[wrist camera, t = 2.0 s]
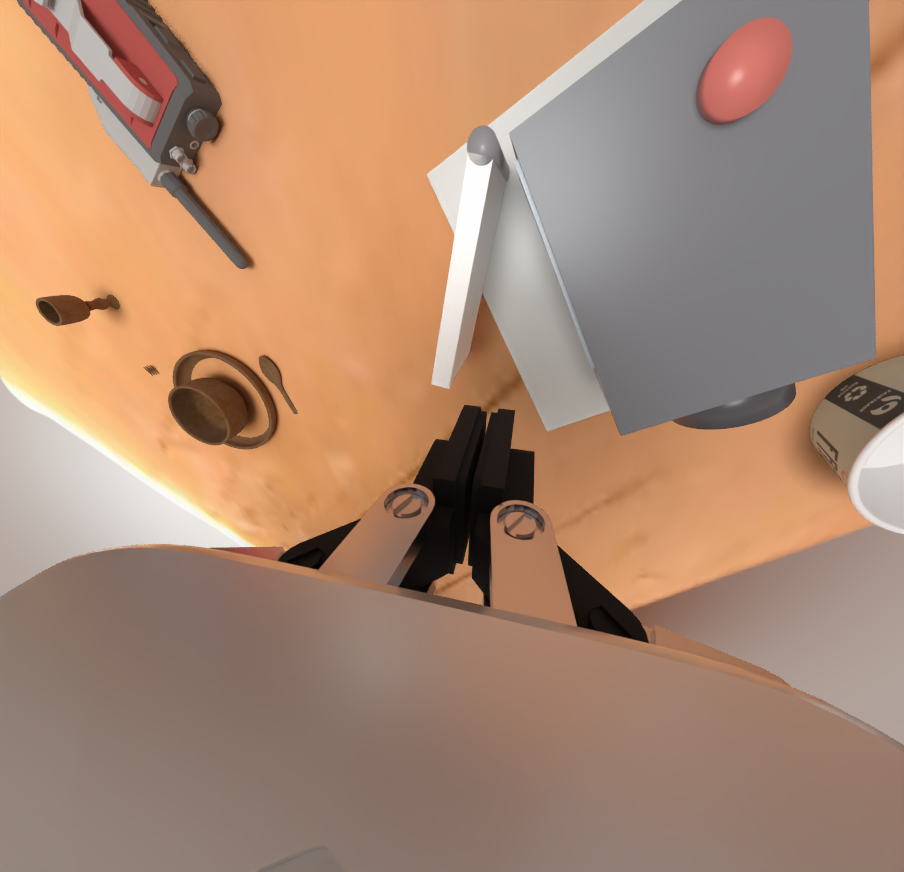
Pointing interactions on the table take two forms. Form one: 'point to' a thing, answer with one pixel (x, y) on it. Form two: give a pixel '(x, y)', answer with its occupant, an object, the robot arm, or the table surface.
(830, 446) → the food container
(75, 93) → the table surface
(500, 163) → the side door
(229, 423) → the place setting
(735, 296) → the camera box
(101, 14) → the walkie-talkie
